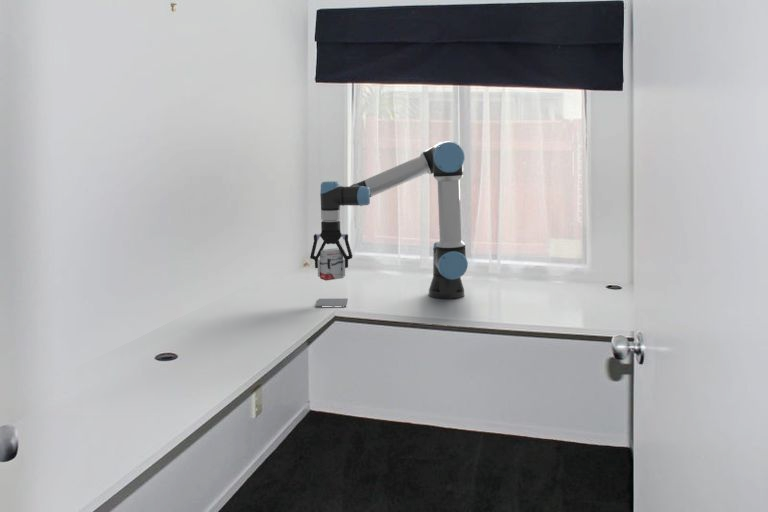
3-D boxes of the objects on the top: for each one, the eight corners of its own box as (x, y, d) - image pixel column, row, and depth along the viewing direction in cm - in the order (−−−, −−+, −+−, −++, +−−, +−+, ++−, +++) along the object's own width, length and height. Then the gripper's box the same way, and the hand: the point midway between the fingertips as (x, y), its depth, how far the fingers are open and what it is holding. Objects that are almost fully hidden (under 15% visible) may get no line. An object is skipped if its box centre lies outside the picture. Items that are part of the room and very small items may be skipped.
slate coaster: (347, 299, 255) (347, 298, 255) (346, 307, 243) (346, 305, 243) (318, 300, 255) (318, 298, 255) (315, 307, 243) (315, 306, 243)
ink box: (325, 280, 243) (324, 251, 241) (319, 278, 247) (318, 249, 245) (344, 278, 247) (343, 249, 245) (338, 276, 251) (337, 247, 249)
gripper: (358, 219, 247) (359, 273, 251) (303, 219, 246) (305, 274, 250) (358, 221, 239) (359, 277, 243) (301, 221, 239) (303, 278, 243)
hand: (331, 275), depth 247 cm, fingers closed on ink box, 9 cm apart
